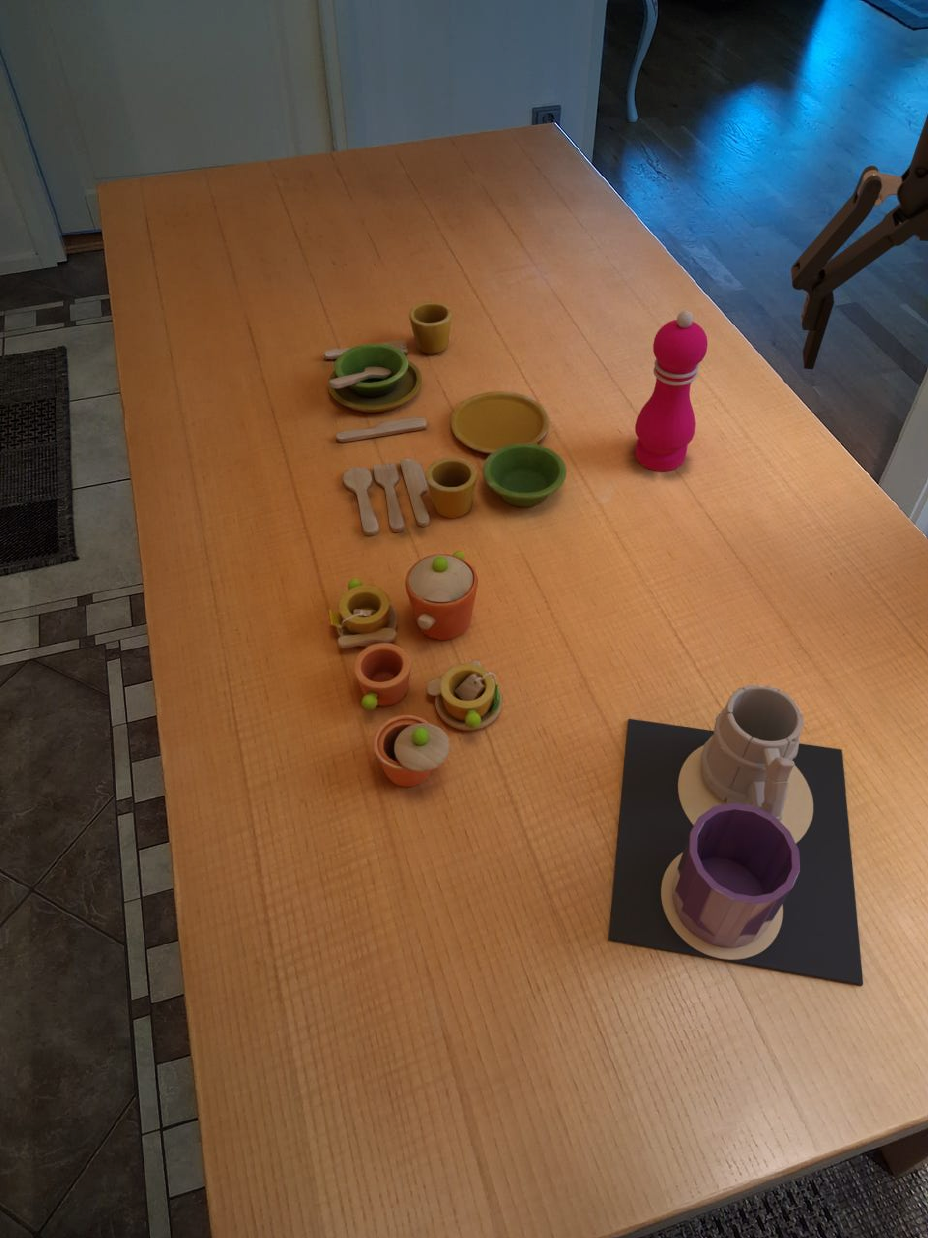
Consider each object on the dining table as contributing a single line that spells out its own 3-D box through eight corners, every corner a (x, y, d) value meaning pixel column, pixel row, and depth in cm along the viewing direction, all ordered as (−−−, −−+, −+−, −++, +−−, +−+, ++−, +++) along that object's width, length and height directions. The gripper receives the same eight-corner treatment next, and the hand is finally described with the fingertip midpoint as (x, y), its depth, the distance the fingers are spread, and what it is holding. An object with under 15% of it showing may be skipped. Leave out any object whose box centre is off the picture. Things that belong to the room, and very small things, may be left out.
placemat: (840, 751, 85) (842, 748, 84) (861, 986, 71) (863, 984, 70) (628, 720, 88) (628, 717, 87) (608, 940, 74) (608, 938, 73)
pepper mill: (648, 430, 117) (671, 288, 101) (698, 450, 114) (731, 307, 99) (620, 460, 113) (641, 316, 98) (672, 481, 110) (701, 337, 95)
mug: (772, 738, 85) (806, 661, 76) (802, 854, 78) (843, 784, 68) (692, 738, 85) (716, 662, 76) (713, 854, 78) (743, 784, 69)
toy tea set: (326, 605, 98) (313, 542, 91) (463, 576, 101) (460, 512, 93) (373, 811, 82) (361, 755, 74) (535, 771, 84) (539, 712, 77)
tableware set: (319, 351, 130) (312, 312, 125) (504, 326, 134) (505, 286, 129) (355, 547, 104) (349, 506, 99) (585, 509, 107) (590, 468, 102)
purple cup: (770, 862, 77) (797, 812, 70) (772, 956, 72) (802, 912, 65) (673, 847, 78) (691, 795, 71) (669, 938, 73) (688, 892, 66)
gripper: (1165, 95, 64) (1029, 355, 80) (802, 79, 67) (742, 331, 83) (1200, 138, 59) (1047, 406, 75) (808, 119, 62) (743, 378, 79)
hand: (887, 367), depth 79 cm, fingers open, 13 cm apart
